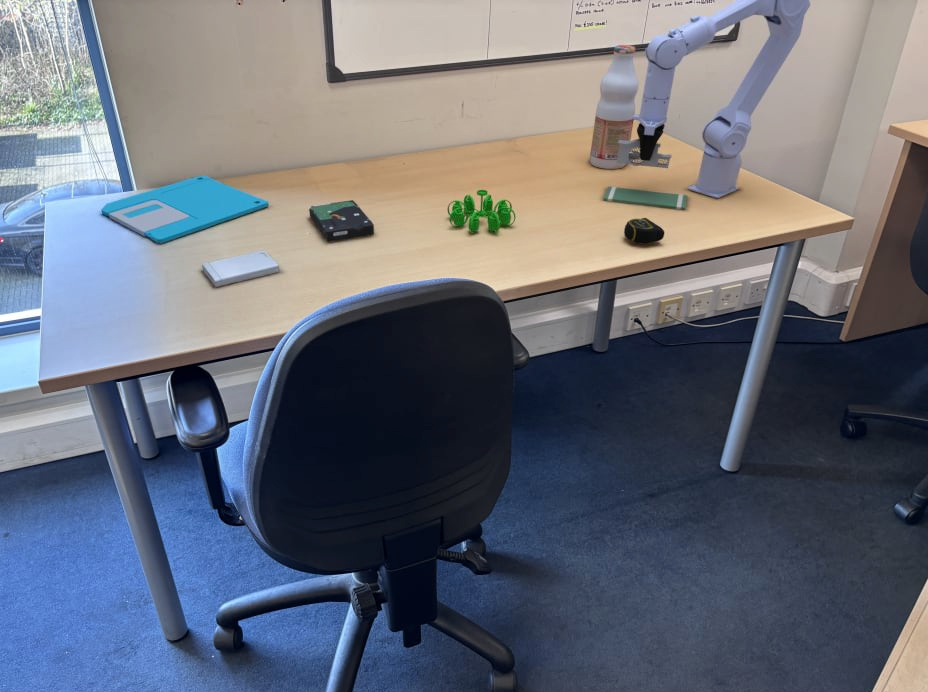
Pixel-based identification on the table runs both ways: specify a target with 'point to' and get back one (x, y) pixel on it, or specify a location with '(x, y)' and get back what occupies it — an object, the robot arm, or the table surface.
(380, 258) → the table surface
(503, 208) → the chandelier
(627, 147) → the lattice window wall
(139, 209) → the floppy disk
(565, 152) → the table surface
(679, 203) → the towel
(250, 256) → the hard drive
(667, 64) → the robot arm
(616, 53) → the fruit juice
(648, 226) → the tape measure
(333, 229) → the disk drive
